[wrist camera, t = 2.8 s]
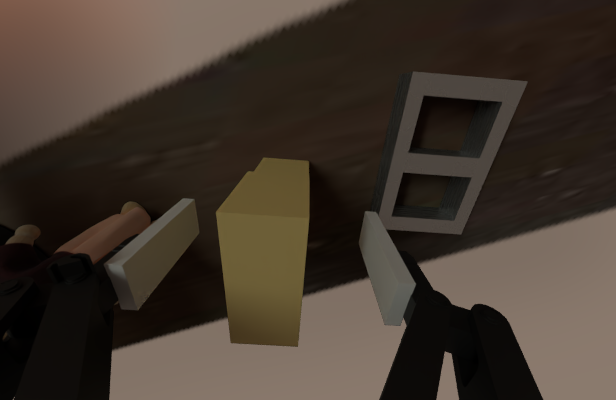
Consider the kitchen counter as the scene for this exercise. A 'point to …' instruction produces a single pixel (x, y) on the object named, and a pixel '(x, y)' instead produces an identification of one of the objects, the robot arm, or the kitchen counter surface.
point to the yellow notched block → (265, 252)
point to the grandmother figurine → (70, 244)
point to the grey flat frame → (458, 164)
